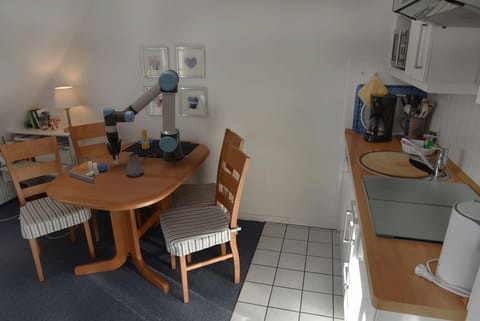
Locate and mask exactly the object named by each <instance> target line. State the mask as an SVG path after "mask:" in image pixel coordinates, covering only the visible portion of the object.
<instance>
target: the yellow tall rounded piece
mask: <svg viewBox="0 0 480 321" xmlns="http://www.w3.org/2000/svg"><path fill="white" fill-rule="evenodd" d="M147 132H148V131H147V129H141V138H138V139H137V143H138V144H141V148H142V149H144V150H147V149H150V147H151V146H150V143H153V139H154V138H152V137H151V136H150V137H149V136H148V133H147ZM149 139H151V141H150V140H149Z"/></svg>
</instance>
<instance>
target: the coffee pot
mask: <svg viewBox="0 0 480 321" xmlns="http://www.w3.org/2000/svg"><path fill="white" fill-rule="evenodd" d="M153 156H154V157H155V158H156V157H157V154H156V153H151V154H149V155H147V156H144V157H143V158H140V159H138V157H139V155H138V154H130V155H128V156H127V158H128V163H127V166H126V169H125V173H126V174H127V175H128V176H130V177H139V176H141V175H142V174H143V173H144V171H145V169H144V167H143V166H142V164H141V162H140V161H143V160H146V159H148V158H151V157H153Z"/></svg>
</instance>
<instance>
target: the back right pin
mask: <svg viewBox="0 0 480 321" xmlns="http://www.w3.org/2000/svg"><path fill="white" fill-rule="evenodd" d="M92 163H93V162H92V160H91V161H87V166H88V171H89V172H88V173H90V172H93V171H94V170H93V164H92Z"/></svg>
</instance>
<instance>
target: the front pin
mask: <svg viewBox="0 0 480 321" xmlns="http://www.w3.org/2000/svg"><path fill="white" fill-rule="evenodd" d="M99 173H100V170H98V174H99ZM84 175H85V176H88V177H92V176H94V170H93V172H87V173H85V174H84Z"/></svg>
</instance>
